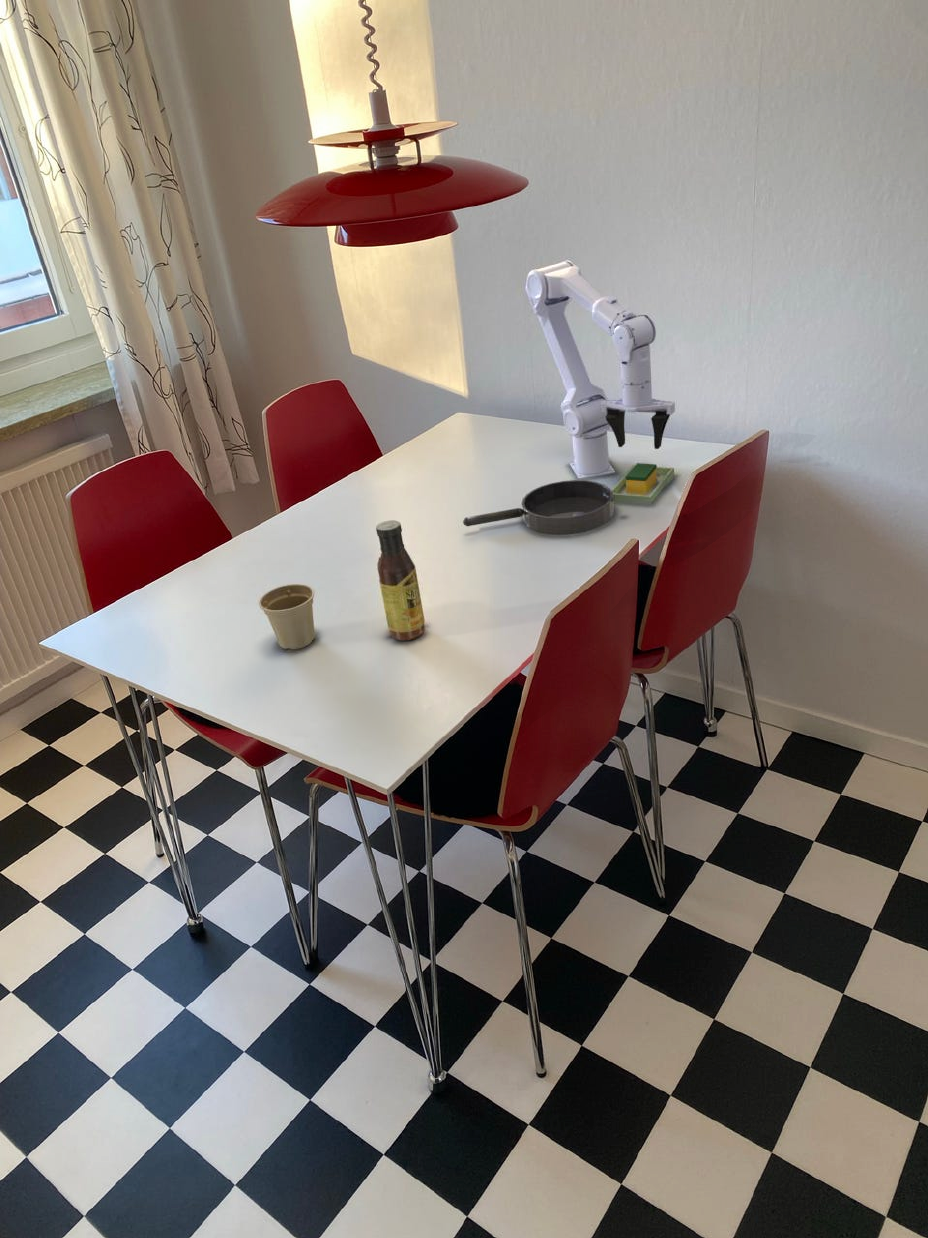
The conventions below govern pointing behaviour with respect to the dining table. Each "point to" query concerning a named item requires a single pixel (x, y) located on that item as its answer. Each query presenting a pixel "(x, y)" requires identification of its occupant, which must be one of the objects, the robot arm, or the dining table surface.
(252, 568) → the dining table surface
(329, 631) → the dining table surface
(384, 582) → the sauce bottle
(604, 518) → the pan
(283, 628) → the flower pot
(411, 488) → the dining table surface
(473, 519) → the pan handle
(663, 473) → the sponge tray
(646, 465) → the sponge
